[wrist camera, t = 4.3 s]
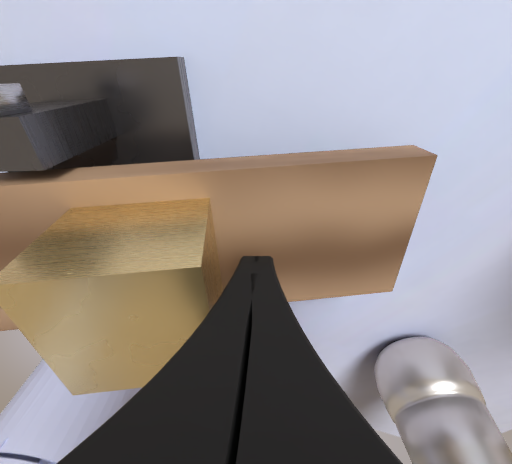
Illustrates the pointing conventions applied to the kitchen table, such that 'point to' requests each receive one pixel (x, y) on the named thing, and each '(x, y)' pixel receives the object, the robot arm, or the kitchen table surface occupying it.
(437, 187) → the kitchen table surface
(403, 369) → the plastic bottle
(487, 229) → the kitchen table surface
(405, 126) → the kitchen table surface
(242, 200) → the balance beam
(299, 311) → the kitchen table surface
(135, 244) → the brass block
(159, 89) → the pivot stand
